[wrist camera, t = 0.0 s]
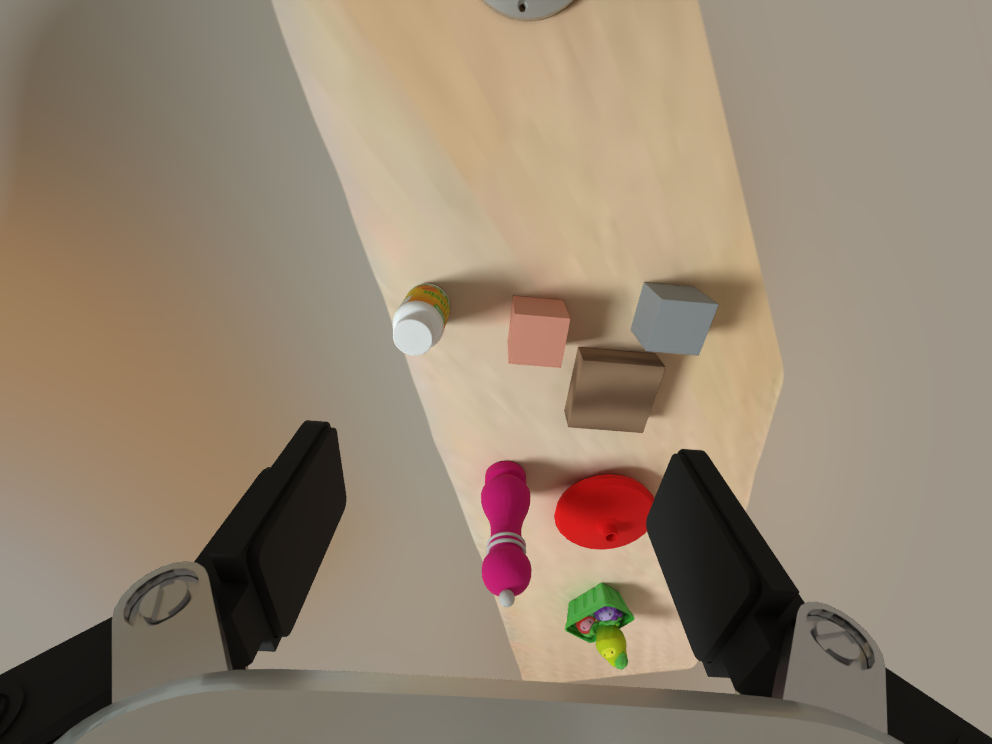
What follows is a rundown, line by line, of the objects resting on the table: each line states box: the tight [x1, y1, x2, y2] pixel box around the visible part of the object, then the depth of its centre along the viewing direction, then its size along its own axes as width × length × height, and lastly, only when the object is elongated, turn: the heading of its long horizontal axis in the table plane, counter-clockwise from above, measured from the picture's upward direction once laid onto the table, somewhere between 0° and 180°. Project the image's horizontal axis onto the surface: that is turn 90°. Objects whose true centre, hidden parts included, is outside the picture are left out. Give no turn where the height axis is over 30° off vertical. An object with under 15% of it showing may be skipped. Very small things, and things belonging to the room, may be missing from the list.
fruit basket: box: [565, 583, 634, 670], centre depth 72 cm, size 11×9×11 cm
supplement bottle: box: [393, 283, 450, 356], centre depth 43 cm, size 5×5×10 cm
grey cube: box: [631, 282, 719, 356], centre depth 45 cm, size 6×6×6 cm
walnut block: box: [564, 347, 666, 433], centre depth 51 cm, size 10×10×4 cm
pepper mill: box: [481, 461, 531, 607], centre depth 52 cm, size 7×7×20 cm
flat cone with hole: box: [554, 474, 654, 549], centre depth 61 cm, size 16×16×7 cm
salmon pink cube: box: [508, 296, 570, 368], centre depth 46 cm, size 6×6×6 cm
